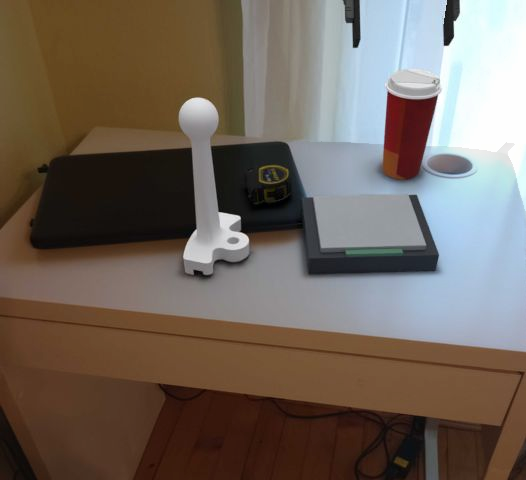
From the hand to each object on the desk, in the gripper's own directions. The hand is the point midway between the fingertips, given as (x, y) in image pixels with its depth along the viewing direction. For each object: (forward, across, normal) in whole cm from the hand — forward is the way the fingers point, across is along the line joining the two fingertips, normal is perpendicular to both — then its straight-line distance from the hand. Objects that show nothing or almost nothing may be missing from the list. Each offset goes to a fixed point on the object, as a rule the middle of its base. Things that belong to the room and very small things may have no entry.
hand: (402, 42), depth 93 cm
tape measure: (+23, -21, -1) cm, 31 cm away
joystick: (+32, -27, -10) cm, 43 cm away
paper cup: (+18, 0, +4) cm, 18 cm away
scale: (+30, -8, -9) cm, 33 cm away
